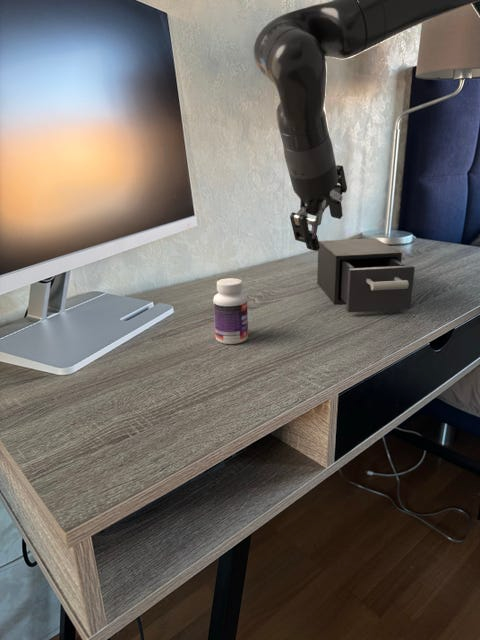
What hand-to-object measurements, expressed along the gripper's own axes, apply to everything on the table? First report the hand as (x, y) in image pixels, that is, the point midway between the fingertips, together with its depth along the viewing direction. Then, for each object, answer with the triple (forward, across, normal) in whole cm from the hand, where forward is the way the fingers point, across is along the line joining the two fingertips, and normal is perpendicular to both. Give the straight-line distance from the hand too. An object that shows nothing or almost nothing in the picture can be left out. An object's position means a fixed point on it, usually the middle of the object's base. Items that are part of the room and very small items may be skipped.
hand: (325, 232), depth 83 cm
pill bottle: (-2, -28, +1) cm, 28 cm away
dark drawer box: (+10, -5, -11) cm, 16 cm away
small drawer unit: (+16, 0, -4) cm, 17 cm away
